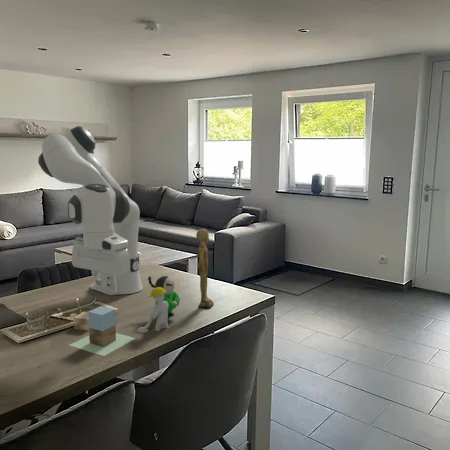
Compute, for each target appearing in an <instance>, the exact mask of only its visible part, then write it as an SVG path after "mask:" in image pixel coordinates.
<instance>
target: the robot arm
mask: <svg viewBox="0 0 450 450" xmlns="http://www.w3.org/2000/svg"><path fill="white" fill-rule="evenodd" d="M95 149H96V141H95V138H94V136H93V134H92V133H91V132H90V131H89V130H88V129H87V128H84V126H79V125H78V126H75V127H72V128H70V130H69V131H68V132H66V133H65V134H63V135H62V134H60V133H53V134H49V135H48V136H46V137H45V138H44V139H43V141H42V143H41V151H42V152H41V153H40V154H39V156H38V159H37V163H38V165H39V167H40V168H41V169H40V170H42V171H43V173H45V174H46V175H48V176H49V177H50V178H54V179H56V180H57V181H59V182H61V183H65V184H72V185H81V186H83V188H82V192H80V193H78V194H73V196H71V197H70V199H69V200H68V202H67V214H68V218H69V220H70V221H72V222H73V223H74V224H76V225H80V226H81V225H82V226H83V230H82V231H83V232H82V234H83V236H77V237H76V238H74V240H73V241H72V244H73V246H72V251H71V264H72V267H74V268H77V269H84V270H88V271H89V270H90V271H91V275H92V277H93V279H94V282H93V283H92V284H91V285H90V286H89V288H90V290H91V289H92V290H95V291H97V292H99V293H102V294H105V295H108V296H115V295H129V294H130V295H131V294H135V293H138V292H140V291H142V290H143V284H142V280H141V275H140V256H139V241H138V240H139V228H140V215H141V213H140V212H141V211H140V208H139V205H138V204H137V203H136V202H135V201H134V200H133V199H131V198H130V197H129V196H128V194H127V193H126V192H125V190H124V189H123V188H122V186H120V185H119V183H118V182H117V181H116V179H115V178H114V177H113V176H112V174H110V172H109V171H108V170H107V169H106V168H105V166H104V165H103V164H102V163H101V161H99V160H98V159H97V158H96V157H95V156H94V155H93V154H94V153H95V152H94V150H95Z"/></svg>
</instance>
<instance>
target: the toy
mask: <svg viewBox="0 0 450 450" xmlns="http://www.w3.org/2000/svg"><path fill="white" fill-rule="evenodd" d="M147 280H148V284H149V285H150V287H151V288H153V289H154V288H156V287H161V288H164V289H165V290H166V292H165V296H164V299H163V301H167V302H168V305H169V306H168V317H171V316H174V315H175V314H174V312H173V310H174V309H176V308H177V307H178V306H179V304H180V301H181V300H180V299H181V298H180V295H179V294H178V293H177V292H176V291H174V290H175V281H174V280H173V279H172V277H170V276H168V275H163V276H160V277H158V279H156V281H155V284H153V282H152V277H151V276H148V278H147ZM156 305H157V301H156V300H155V307H156ZM155 307H154V308H155Z"/></svg>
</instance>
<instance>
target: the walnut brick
mask: <svg viewBox="0 0 450 450" xmlns="http://www.w3.org/2000/svg"><path fill="white" fill-rule="evenodd" d="M116 326H117V325H116V324H115V325H114V326H112V327H110V328H108V329H106V330H104V331H100V330H96V329H93V328H89V331H88V334H89V335H88V336H89V340H90V343H91V344H95V345H98V346H101V347H104V346H106V345H108V344H110V343H112V342H114V341H116V333H117V330H116Z"/></svg>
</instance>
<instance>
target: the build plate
mask: <svg viewBox="0 0 450 450" xmlns="http://www.w3.org/2000/svg"><path fill="white" fill-rule="evenodd" d="M135 339H136V337H132V336H129V335H125V334H121V333H118V332H116V341H114V342H112V343H110V344H108V345H106V346H104V347H101V346H98V345H95V344H91V343H90V340H89V335H87V336H84V337H83V338H81V339H79V340H77V341H75V342H72V343H71V344H68V346H70V347H73V348H76V349H80V350H82V351H86V352H89V353H92V354H95V355H99V356H103V357H105V356H107V355H109V354H110V353H112V352H114V351H115V350H117V349H119V348H122V347H123V346H125V345H126V344H128V343H130V342H133V341H134V340H135Z"/></svg>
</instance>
